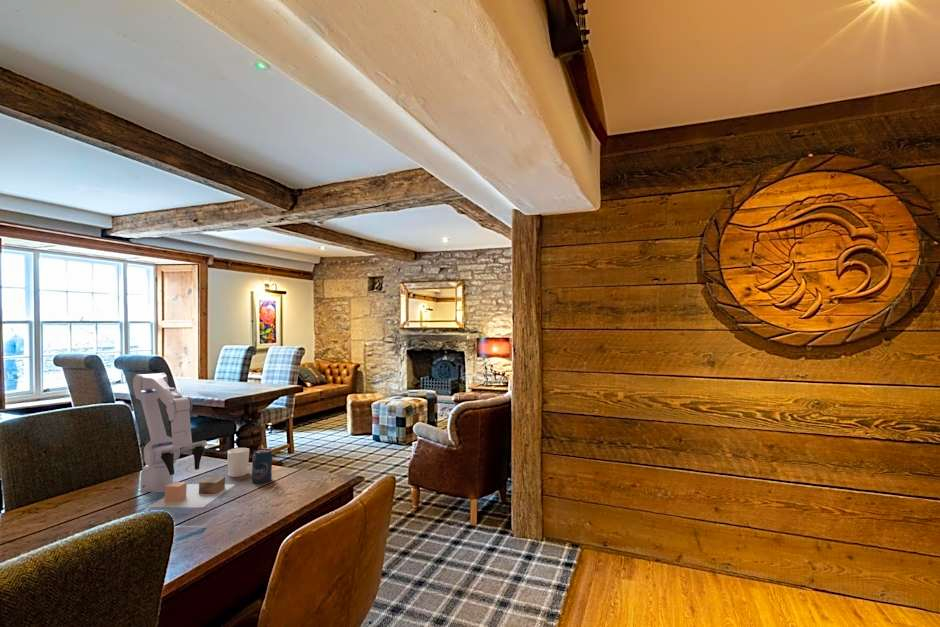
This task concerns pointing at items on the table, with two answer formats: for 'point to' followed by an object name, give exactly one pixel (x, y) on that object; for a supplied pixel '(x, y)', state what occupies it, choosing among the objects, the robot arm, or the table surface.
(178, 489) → the top block
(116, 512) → the table surface
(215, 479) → the base block
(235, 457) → the white cup
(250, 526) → the table surface
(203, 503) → the white flat board
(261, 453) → the soda can
